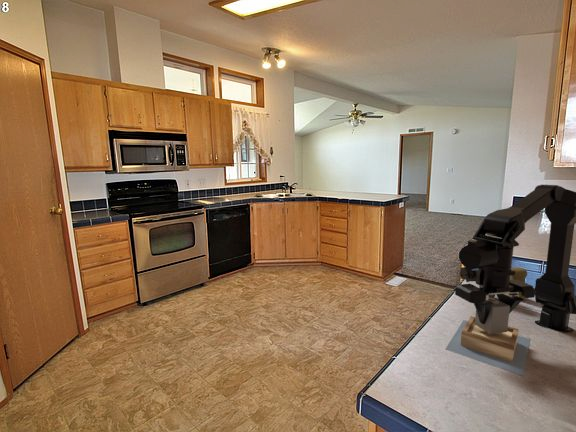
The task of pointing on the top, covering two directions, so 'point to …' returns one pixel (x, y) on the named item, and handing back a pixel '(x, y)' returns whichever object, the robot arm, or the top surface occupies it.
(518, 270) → the cork
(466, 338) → the wooden tray
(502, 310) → the block
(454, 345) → the board
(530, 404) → the top surface
